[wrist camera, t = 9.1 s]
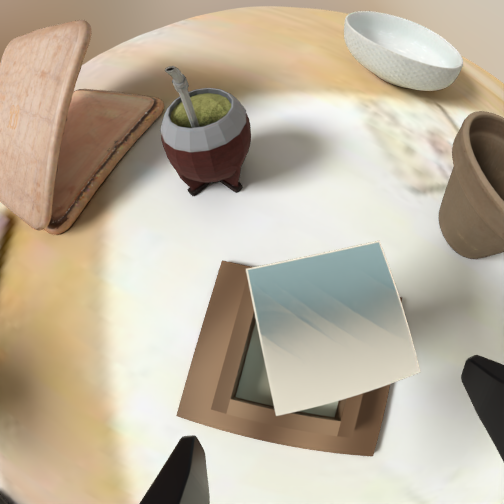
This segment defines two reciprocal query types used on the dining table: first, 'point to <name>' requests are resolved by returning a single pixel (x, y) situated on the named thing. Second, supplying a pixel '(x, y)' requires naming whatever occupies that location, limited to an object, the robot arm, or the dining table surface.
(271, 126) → the dining table surface
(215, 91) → the mate gourd
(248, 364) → the picture frame
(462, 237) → the flower pot
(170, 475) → the robot arm
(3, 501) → the zipper pull
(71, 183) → the case
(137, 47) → the dining table surface
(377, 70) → the cereal bowl
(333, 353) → the pale blue rectangular block
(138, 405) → the dining table surface
